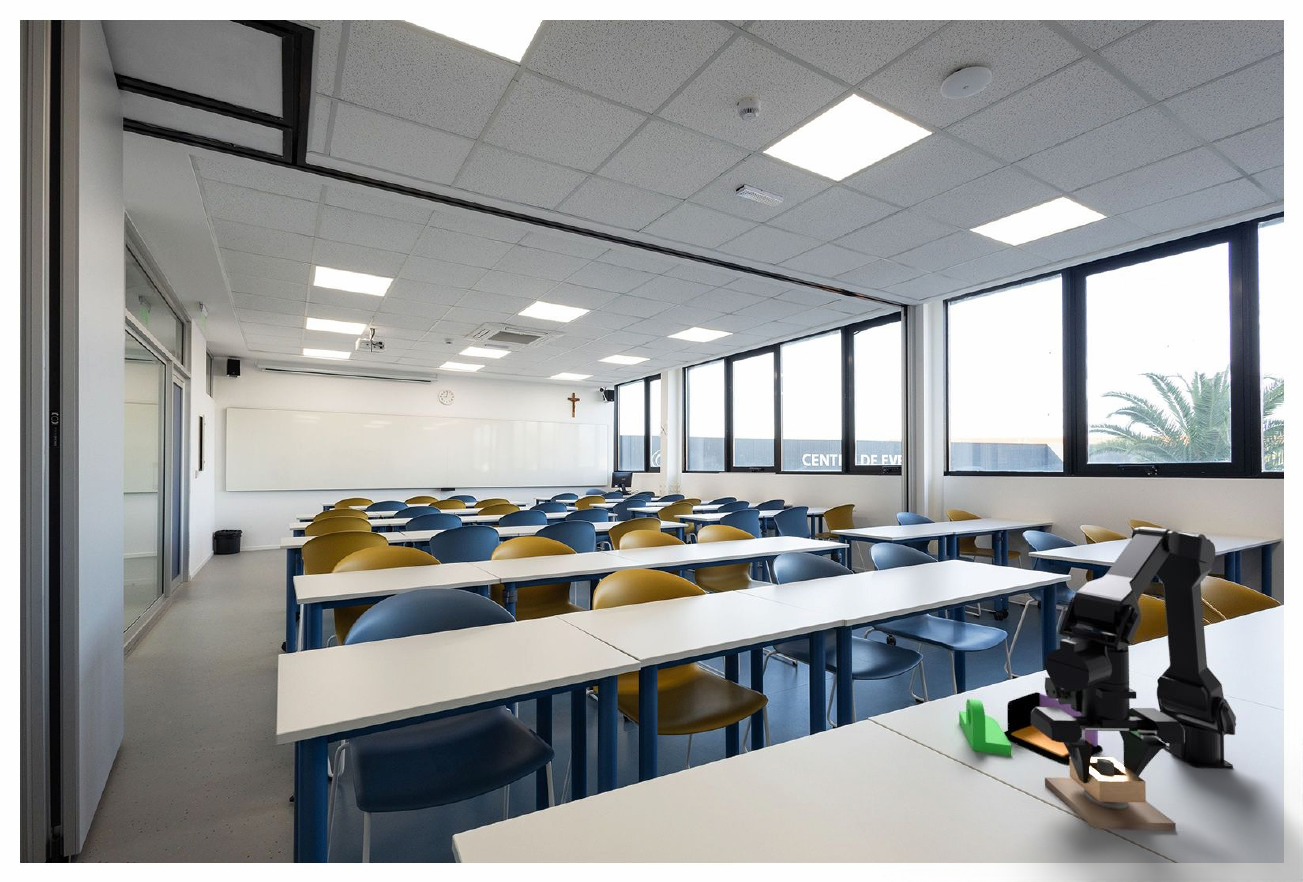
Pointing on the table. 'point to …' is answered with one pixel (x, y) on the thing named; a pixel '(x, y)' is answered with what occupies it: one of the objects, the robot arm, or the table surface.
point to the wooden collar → (1112, 783)
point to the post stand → (1108, 805)
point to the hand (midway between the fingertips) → (1105, 782)
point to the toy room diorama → (1035, 739)
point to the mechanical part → (983, 730)
